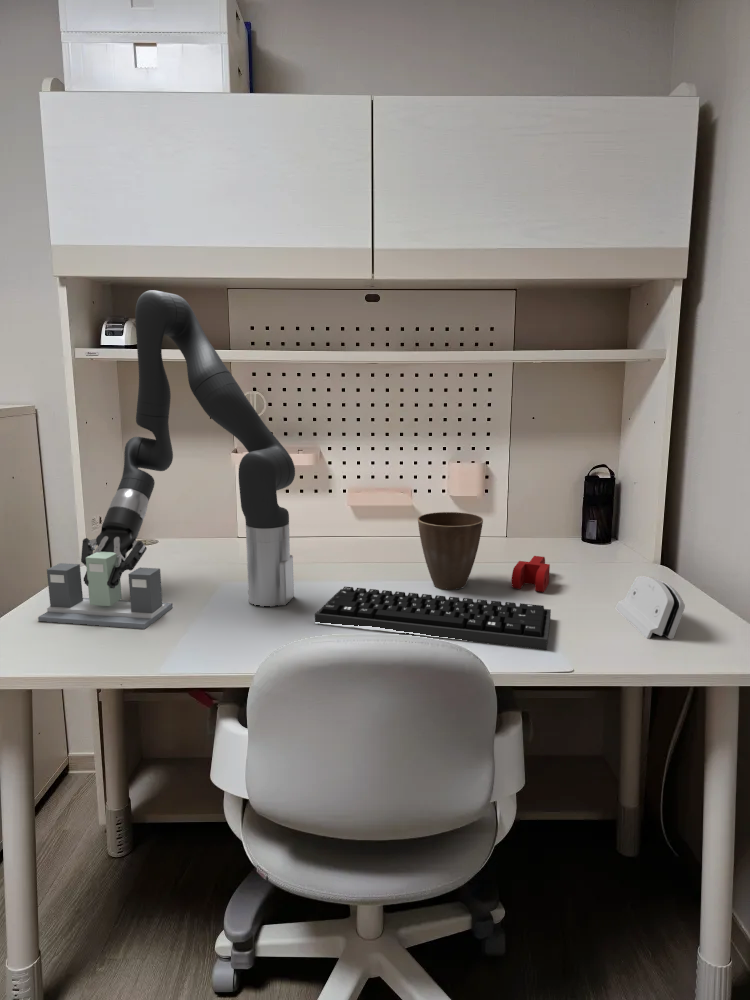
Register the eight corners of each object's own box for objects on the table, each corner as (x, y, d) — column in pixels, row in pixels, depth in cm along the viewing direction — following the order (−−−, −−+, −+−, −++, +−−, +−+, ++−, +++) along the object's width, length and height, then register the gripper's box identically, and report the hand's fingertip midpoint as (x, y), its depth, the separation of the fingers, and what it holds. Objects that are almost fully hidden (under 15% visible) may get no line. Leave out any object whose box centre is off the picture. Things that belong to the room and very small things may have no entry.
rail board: (172, 607, 146) (169, 563, 144) (144, 628, 135) (141, 581, 133) (73, 601, 150) (69, 558, 148) (38, 621, 138) (33, 575, 136)
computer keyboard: (314, 626, 137) (314, 608, 136) (341, 600, 152) (340, 583, 151) (546, 653, 125) (547, 633, 124) (550, 621, 140) (551, 604, 139)
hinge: (614, 608, 146) (633, 565, 144) (634, 615, 146) (653, 572, 144) (647, 639, 129) (669, 591, 128) (670, 647, 130) (692, 599, 128)
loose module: (121, 598, 144) (118, 552, 142) (109, 606, 139) (105, 558, 137) (102, 597, 144) (98, 551, 142) (89, 605, 140) (85, 557, 138)
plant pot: (406, 589, 157) (407, 521, 154) (430, 572, 171) (431, 509, 167) (469, 599, 151) (471, 528, 148) (489, 580, 164) (491, 515, 161)
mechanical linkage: (542, 595, 154) (543, 573, 153) (511, 590, 157) (512, 569, 156) (554, 575, 169) (555, 555, 168) (525, 571, 172) (526, 552, 171)
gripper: (87, 503, 146) (58, 575, 137) (149, 506, 144) (124, 579, 135) (103, 522, 153) (76, 592, 143) (163, 525, 150) (139, 596, 141)
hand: (99, 585), depth 139 cm, fingers closed on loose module, 4 cm apart
